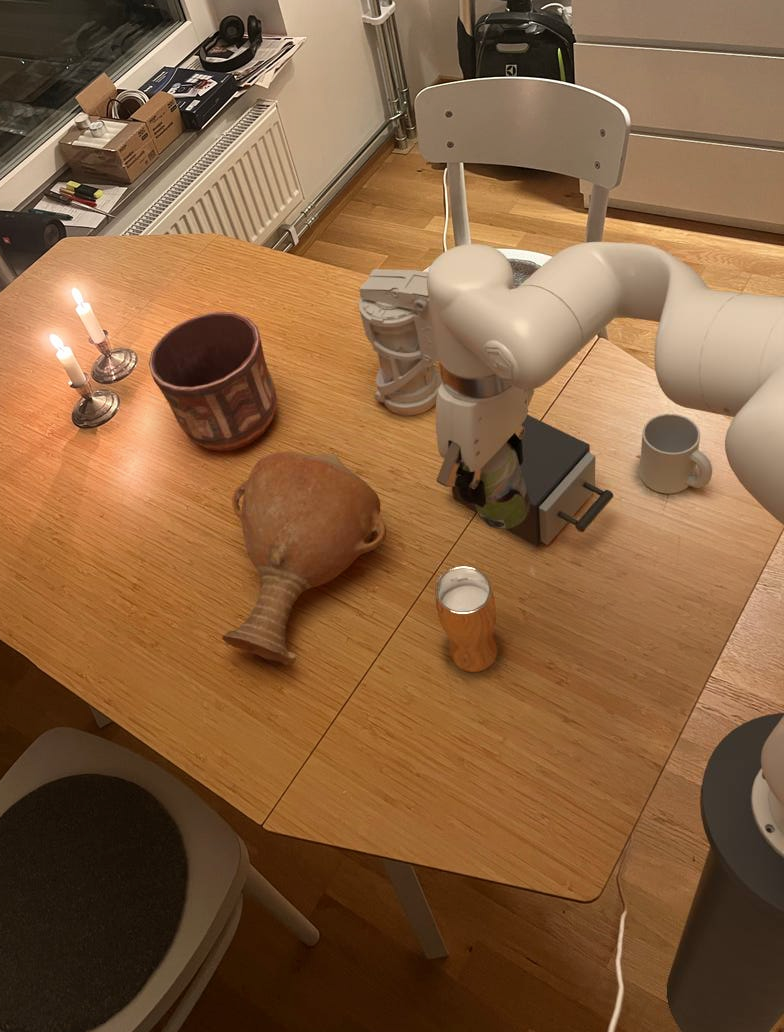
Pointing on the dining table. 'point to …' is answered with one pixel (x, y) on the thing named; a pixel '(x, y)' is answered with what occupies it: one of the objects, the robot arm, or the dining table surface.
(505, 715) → the dining table surface
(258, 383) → the pottery
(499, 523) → the beverage can
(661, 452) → the cup
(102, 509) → the dining table surface
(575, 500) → the drawer
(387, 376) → the lantern
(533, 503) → the cabinet
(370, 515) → the jug
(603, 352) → the dining table surface
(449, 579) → the beer glass
